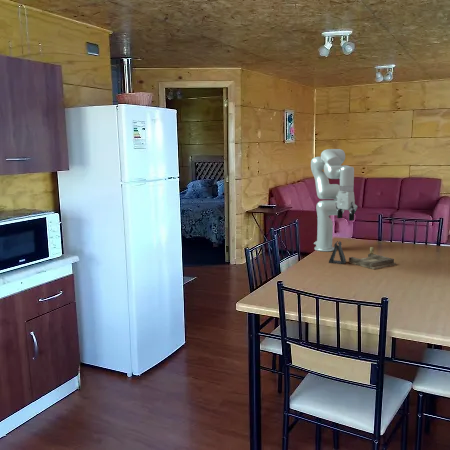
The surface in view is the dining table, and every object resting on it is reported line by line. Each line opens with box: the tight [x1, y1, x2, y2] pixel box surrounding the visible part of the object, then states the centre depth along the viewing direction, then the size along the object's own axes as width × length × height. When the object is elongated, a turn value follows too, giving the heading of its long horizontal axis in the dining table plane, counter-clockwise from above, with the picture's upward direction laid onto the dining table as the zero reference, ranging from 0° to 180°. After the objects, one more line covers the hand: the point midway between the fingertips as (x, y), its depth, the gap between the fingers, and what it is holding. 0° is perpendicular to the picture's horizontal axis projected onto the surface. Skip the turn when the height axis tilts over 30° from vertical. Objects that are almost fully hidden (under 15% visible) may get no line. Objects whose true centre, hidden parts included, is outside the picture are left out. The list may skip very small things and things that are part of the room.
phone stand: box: [328, 240, 347, 265], centre depth 269 cm, size 9×6×12 cm, turn 66°
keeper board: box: [348, 246, 397, 270], centre depth 266 cm, size 18×18×7 cm
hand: (345, 219), depth 265 cm, fingers open, 9 cm apart
